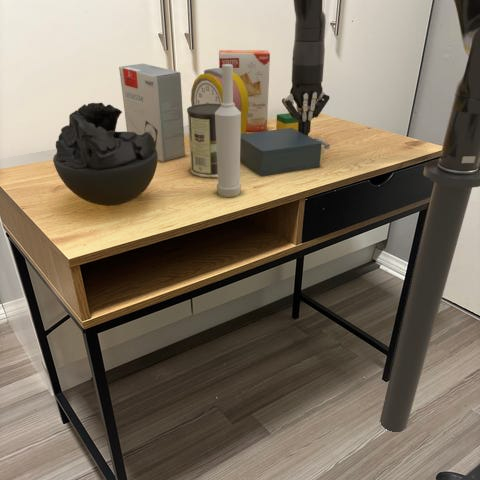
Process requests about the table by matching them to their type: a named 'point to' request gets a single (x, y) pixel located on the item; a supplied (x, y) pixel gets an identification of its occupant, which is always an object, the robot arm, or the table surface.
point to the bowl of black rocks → (104, 157)
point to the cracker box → (251, 82)
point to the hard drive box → (154, 107)
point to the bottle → (228, 139)
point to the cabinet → (279, 151)
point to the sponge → (286, 122)
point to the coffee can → (203, 139)
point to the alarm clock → (220, 92)
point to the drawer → (324, 145)
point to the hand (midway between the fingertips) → (303, 135)
